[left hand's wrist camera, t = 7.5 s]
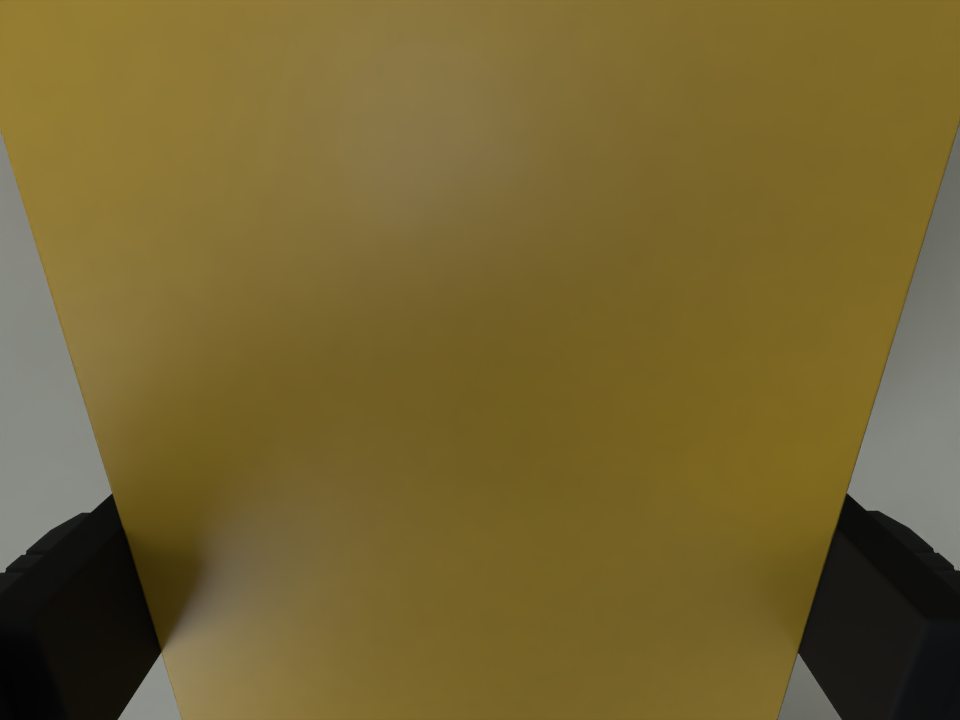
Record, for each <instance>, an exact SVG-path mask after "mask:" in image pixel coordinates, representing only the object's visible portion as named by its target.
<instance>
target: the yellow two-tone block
mask: <svg viewBox="0 0 960 720" xmlns="http://www.w3.org/2000/svg"><path fill="white" fill-rule="evenodd" d="M959 123H960V0H0V129H1V133H2V136H3V139H4V142H5V146H6V149H7V152H8V155H9V159H10V162H11V165H12V168H13V172H14V175H15V178H16V181H17V185H18V188H19V191H20V194H21V198H22V201H23V204H24V207H25V211H26V214H27V217H28V220H29V224H30V227H31V230H32V233H33V237H34V240H35V243H36V246H37V250H38V253H39V256H40V259H41V263H42V266H43V269H44V272H45V276H46V279H47V282H48V285H49V289H50V292H51V295H52V298H53V302H54V305H55V308H56V311H57V315H58V318H59V321H60V324H61V328H62V331H63V334H64V337H65V341H66V344H67V347H68V350H69V354H70V357H71V360H72V363H73V367H74V370H75V373H76V376H77V380H78V383H79V386H80V389H81V393H82V396H83V399H84V402H85V406H86V409H87V412H88V415H89V419H90V422H91V425H92V428H93V432H94V435H95V438H96V441H97V445H98V448H99V451H100V454H101V458H102V461H103V464H104V467H105V471H106V474H107V477H108V480H109V484H110V487H111V490H112V493H113V497H114V500H115V503H116V506H117V510H118V513H119V516H120V519H121V523H122V526H123V529H124V532H125V536H126V539H127V542H128V545H129V549H130V552H131V555H132V558H133V562H134V565H135V568H136V571H137V575H138V578H139V581H140V584H141V588H142V591H143V594H144V597H145V601H146V604H147V607H148V610H149V614H150V617H151V620H152V623H153V627H154V630H155V633H156V636H157V640H158V643H159V646H160V649H161V653H162V656H163V659H164V662H165V666H166V669H167V672H168V675H169V679H170V682H171V685H172V688H173V692H174V695H175V698H176V701H177V705H178V708H179V711H180V714H181V718H182V720H777V719H778V716H779V713H780V710H781V706H782V703H783V700H784V697H785V693H786V690H787V687H788V683H789V680H790V677H791V674H792V670H793V667H794V664H795V661H796V657H797V654H798V651H799V647H800V644H801V641H802V638H803V634H804V631H805V628H806V624H807V621H808V618H809V615H810V611H811V608H812V605H813V602H814V598H815V595H816V592H817V588H818V585H819V582H820V579H821V575H822V572H823V569H824V565H825V562H826V559H827V556H828V552H829V549H830V546H831V543H832V539H833V536H834V533H835V529H836V526H837V523H838V520H839V516H840V513H841V510H842V507H843V503H844V500H845V497H846V493H847V490H848V487H849V484H850V480H851V477H852V474H853V470H854V467H855V464H856V461H857V457H858V454H859V451H860V448H861V444H862V441H863V438H864V434H865V431H866V428H867V425H868V421H869V418H870V415H871V411H872V408H873V405H874V402H875V398H876V395H877V392H878V389H879V385H880V382H881V379H882V375H883V372H884V369H885V366H886V362H887V359H888V356H889V353H890V349H891V346H892V343H893V339H894V336H895V333H896V330H897V326H898V323H899V320H900V316H901V313H902V310H903V307H904V303H905V300H906V297H907V294H908V290H909V287H910V284H911V280H912V277H913V274H914V271H915V267H916V264H917V261H918V257H919V254H920V251H921V248H922V244H923V241H924V238H925V235H926V231H927V228H928V225H929V221H930V218H931V215H932V212H933V208H934V205H935V202H936V199H937V195H938V192H939V189H940V185H941V182H942V179H943V176H944V172H945V169H946V166H947V162H948V159H949V156H950V153H951V149H952V146H953V143H954V140H955V136H956V133H957V130H958V126H959Z"/></svg>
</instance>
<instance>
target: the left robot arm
mask: <svg viewBox="0 0 960 720" xmlns="http://www.w3.org/2000/svg"><path fill="white" fill-rule="evenodd" d="M798 653H799V654H800V656H801V658H802V659H803V661H804V662H805V664H806V665H807V667H808V668H809V670H810V671H811V673H812V674H813V676H814V678H815V679H816V681H817V682H818V684H819V685H820V687H821V688H822V690H823V691H824V693H825V694H826V696H827V698H828V699H829V701H830V702H831V704H832V705H833V707H834V708H835V710H836V711H837V713H838V714H839V716H840V717H841V719H842V720H960V571H959V570H954V566H953V565H952V564H951V563H950V562H949V561H947V560H946V559H945V558H944V557H943V556H942V555H940V554H939V553H934V551H933V548H932V547H931V546H930V545H929V544H927V543H926V542H925V541H924V540H923V539H922V538H920V537H919V536H918V535H917V534H916V533H914V532H913V531H912V530H911V529H910V528H908V527H906V526H905V525H903V524H901V523H899V522H897V521H895V520H894V519H892V518H890V517H888V516H886V515H885V514H883V513H881V512H879V511H866V510H865V509H864V508H863V507H862V506H861V505H859V504H858V503H857V502H856V501H855V500H854V499H853V498H852V497H850V496H849V495H848V494H847V493H846V497H845V500H844V503H843V507H842V510H841V513H840V516H839V520H838V523H837V526H836V529H835V533H834V536H833V539H832V543H831V546H830V549H829V552H828V556H827V559H826V562H825V565H824V569H823V572H822V575H821V579H820V582H819V585H818V588H817V592H816V595H815V598H814V602H813V605H812V608H811V611H810V615H809V618H808V621H807V624H806V628H805V631H804V634H803V638H802V641H801V644H800V647H799V651H798ZM160 654H161V649H160V646H159V643H158V640H157V636H156V633H155V630H154V627H153V623H152V620H151V617H150V614H149V610H148V607H147V604H146V601H145V597H144V594H143V591H142V588H141V584H140V581H139V578H138V575H137V571H136V568H135V565H134V562H133V558H132V555H131V552H130V549H129V545H128V542H127V539H126V536H125V532H124V529H123V526H122V523H121V519H120V516H119V513H118V510H117V506H116V503H115V500H114V497H113V493H112V494H111V495H110V496H109V497H108V498H107V499H106V500H104V501H103V502H102V503H101V504H100V505H99V506H98V507H97V508H96V509H94V510H93V511H92V512H91V513H81V514H79V515H77V516H75V517H73V518H72V519H70V520H68V521H66V522H64V523H63V524H61V525H59V526H57V527H55V528H54V529H52V530H50V531H49V532H48V533H47V534H45V535H44V536H43V537H42V538H41V539H40V540H38V541H37V542H36V543H35V544H34V545H33V546H31V547H30V548H29V549H28V550H27V551H26V555H21V556H20V557H19V558H17V559H16V560H15V561H14V562H13V563H12V564H10V565H9V566H8V567H7V568H6V572H5V573H0V720H118V718H119V717H120V715H121V713H122V712H123V710H124V709H125V707H126V706H127V704H128V703H129V701H130V700H131V698H132V697H133V695H134V693H135V692H136V690H137V689H138V687H139V686H140V684H141V683H142V681H143V680H144V678H145V677H146V675H147V674H148V672H149V670H150V669H151V667H152V666H153V664H154V663H155V661H156V660H157V658H158V657H159V655H160Z"/></svg>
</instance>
